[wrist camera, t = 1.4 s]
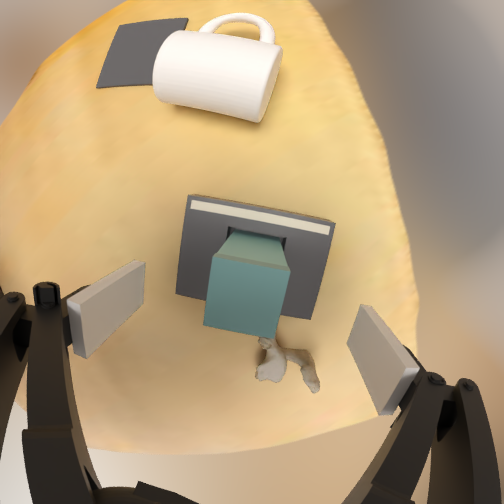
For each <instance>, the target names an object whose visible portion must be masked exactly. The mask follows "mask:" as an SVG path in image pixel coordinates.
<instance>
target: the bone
mask: <svg viewBox="0 0 504 504" xmlns="http://www.w3.org/2000/svg"><path fill="white" fill-rule="evenodd" d="M275 338H276V332H275V336H274V339H272V338H266V337H260V336H259V340H258V343H260V345H262V347H263V348H262V349H267V354H266V357H265V359H264V361H263V363H262V364H260V365H259V366H258V367H257V368H256V374H255V378H256V379H259V381H262V380H266V379H268V380H271V381H273V382H276V383H277V382H279V381H281V380H282V378H283V376H284V374H285V372H286V366H287V360H289V361H292V362H295V363H297V364H299V365H300V366H301V373H302V375H303V380H304V382H305V383H306V385H307V386H308V387H309V389H310V390H311V392H312V393H316V392H318V391H319V389H320V381H319V379H318V377H317V374H316V370H315V363H314V360H313V358H312V357H311V355H310V354H309V352H308V351H307V350H297V349H287V348H281V347H280V346H279V345H278V344H277V342H276V339H275Z"/></svg>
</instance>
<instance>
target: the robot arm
mask: <svg viewBox="0 0 504 504" xmlns="http://www.w3.org/2000/svg"><path fill="white" fill-rule="evenodd" d="M144 278H145V262H141V261H137V260H133V261H132V262H130V263H128V264H126V265H125V266H123V267H121V268H119V269H117V270H116V271H114V272H112V273H110V274H109V275H107V276H105V277H104V278H102V279H100V280H98V281H97V282H95V283H93V284H92V285H87V286H83V287H81V288H79V289H78V290H76V291H74V292H73V293H71V294H69V295H67V296H66V297H64V298H62V299H61V298H60V287H59V285H58V284H56V283H53V282H41V283H38V284H36V285H34V287H33V294H34V301H35V306H32V305H28V304H26V302H25V296H24V295H23V294H22V293H18V292H9V293H8V294H5V295H4V296H3V293H2V291H1V288H0V458H1V452H2V447H3V442H4V437H5V433H6V428H7V424H8V420H9V416H10V413H11V409H12V406H13V402H14V399H15V396H16V393H17V390H18V387H19V384H20V381H21V378H22V376H23V373H24V370H25V367H26V365H27V362H28V367H27V417H28V418H27V419H28V429H24V430H23V431H22V445H23V454H24V461H25V468H26V474H27V479H28V484H29V489H30V493H31V497H32V502H33V504H199V503H196V502H194V501H192V500H190V499H188V498H185V497H183V496H181V495H179V494H177V493H175V492H171V491H168V490H164V489H161V488H158V487H155V486H152V485H149V484H146V483H143V482H141V481H138V483H137V486H136V488H131V487H106V488H102V487H101V485H100V482H99V480H98V478H97V476H96V473H95V471H94V468H93V465H92V462H91V459H90V456H89V453H88V450H87V446H86V443H85V439H84V436H83V432H82V428H81V424H80V420H79V415H78V411H77V406H76V401H75V395H74V390H73V384H72V377H71V370H70V362H69V353H68V348H67V347H68V346H69V345H70V344H71V343H72V345H73V350H74V354H77V355H79V356H81V357H83V358H85V359H87V358H88V357H89V356H90V355H91V354H92V353H93V352H94V351H95V350H96V349H97V348H98V347H99V346H100V345H101V344H102V343H103V342H104V341H105V340H106V339H107V338H108V337H109V336H110V335H111V334H112V333H113V332H114V331H115V330H116V329H117V328H119V327H120V326H121V325H122V324H123V323H124V322H125V321H126V320H127V319H128V318H129V317H130V316H131V315H132V314H133V313H134V312H135V311H136V310H137V309H138V308H139V307H140V306H141V305H142V304H143V300H144ZM347 345H348V347H349V349H350V351H351V353H352V356H353V358H354V360H355V362H356V364H357V367H358V369H359V371H360V373H361V375H362V378H363V380H364V382H365V384H366V387H367V389H368V391H369V394H370V396H371V398H372V401H373V403H374V405H375V408H376V410H377V412H378V415H392V414H393V413H394V411H395V410H396V408H397V407H398V405H399V407H400V408H401V412H400V414H399V415H398V417H397V418H396V420H395V421H394V422H393V424H392V425H391V427H390V428H391V430H390V432H389V434H388V435H387V437H386V439H385V441H384V443H383V444H382V446H381V448H380V449H379V451H378V453H377V454H376V456H375V457H374V459H373V461H372V462H371V464H370V465H369V467H368V468H367V470H366V471H365V473H364V474H363V476H362V477H361V479H360V480H359V481H358V483H357V484H356V486H355V487H354V488H353V490H352V491H351V492H350V494H349V495H348V496H347V497H346V499H345V500H344V501H343V503H342V504H415V502H414V501H412V500H410V499H411V496H412V494H413V492H414V490H415V487H416V485H417V483H418V480H419V478H420V476H421V473H422V470H423V468H424V465H425V462H426V460H427V457H428V454H429V451H430V448H431V471H430V482H429V492H428V500H427V504H501V489H500V479H499V471H498V464H497V458H496V452H495V447H494V443H493V438H492V434H491V429H490V425H489V421H488V418H487V414H486V411H485V407H484V404H483V401H482V397H481V395H480V391H479V389H478V386H477V385H476V384H475V383H474V382H473V381H472V380H470V379H466V378H461V379H459V381H458V382H457V384H456V386H449V385H446V381H445V380H444V378H442V376H440V375H438V374H437V373H434V372H426V370H425V369H424V367H423V366H422V365H421V363H420V362H419V361H417V358H416V357H415V356H414V354H413V353H412V352H411V351H410V349H408V348H407V347H406V346H404V345H402V344H401V342H400V341H399V340H398V338H397V337H396V336H395V335H394V333H393V332H392V331H391V330H390V328H389V327H388V326H387V325H386V323H385V322H384V321H383V320H382V318H381V317H380V316H379V315H378V313H377V312H376V311H375V310H374V309H373V307H372V306H368V305H360V308H359V311H358V314H357V317H356V319H355V322H354V325H353V328H352V330H351V333H350V336H349V339H348V341H347Z"/></svg>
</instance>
